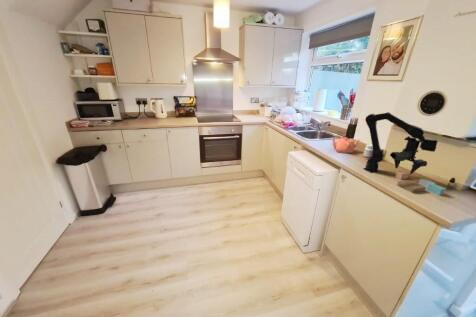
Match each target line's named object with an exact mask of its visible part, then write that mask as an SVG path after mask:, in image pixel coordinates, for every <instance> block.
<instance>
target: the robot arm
mask: <svg viewBox="0 0 476 317" xmlns="http://www.w3.org/2000/svg"><path fill="white" fill-rule="evenodd" d="M364 119H365V123H366V125H367V127H368V130H369V133H370V141H371V145H372V146H373V154H372V156H371V157H369V159H368V160H367V161H366V164H365V167H363V170H365V171H367V172H369V173H378V172H379V170H378V169H379V163H381V162H382V161H383V159H384V157H385V155H386V154H385V150H384V149H383V148H382V149H381V145H380V140H379V135H378V129H377V125H378V122H380V121H383V120H387V121H388V122H390V123H392V124H394V125H396V126H397V127H398V128H400V129H402V130H403V131H405V132H406V133H407V134H408V136H406V137H405V138H404V140H405V141H406V145H405V148H403V149H402V151H400V152H399V151H392V152H391V153H390V154H389V156H390V157H391V158H392V159H393V160H394V165H395V169H398V167H399V166H400V164H401V162H404V161H409V162H412V164H411V169H410V172H409V175H412V174H413V173H415V172H416V171H417V170H418V169H420V168H421V167H427V165H428V162H427V160H423V159H417V156H416V154H417V153H419V150H418V149H421V151H427V152H433V153H434V152H435V151H436V149H437V145H438V140H437V139H428V138H426V137H425V136H424V130H423V128H422V127H420V126H417V125H413V124H410V123H408V122H406V121H404V120H403V119H401V118H400V117H397V116H395V115H393V114H392V113H391V112H389V111H387V112H383V113H378V114H375V113H370V114H368V115H367V116H366V117H365V118H364ZM410 136H411V137H410Z"/></svg>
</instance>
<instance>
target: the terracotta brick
mask: <svg viewBox="0 0 476 317" xmlns="http://www.w3.org/2000/svg"><path fill="white" fill-rule="evenodd" d="M409 175H410V172H408V171H405V170H399V171H396V173H395V176H394V178H396V179H398V180H405V179H406V180H407V179H408V178H409Z"/></svg>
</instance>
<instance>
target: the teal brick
mask: <svg viewBox="0 0 476 317" xmlns="http://www.w3.org/2000/svg"><path fill="white" fill-rule="evenodd" d="M446 190H447V188H445V187H443V186H441V185H438V184H437V183H436V184H429V186H428V188H427V189H426V191H427V192H430V193H432V194H435V195H437V196H444V194H445V192H446Z"/></svg>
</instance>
